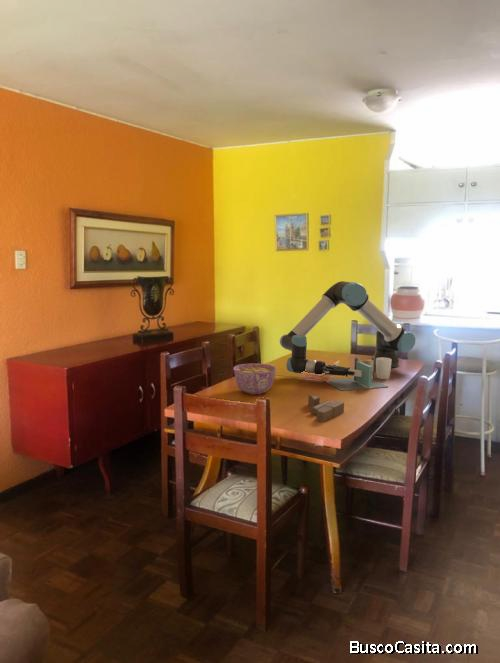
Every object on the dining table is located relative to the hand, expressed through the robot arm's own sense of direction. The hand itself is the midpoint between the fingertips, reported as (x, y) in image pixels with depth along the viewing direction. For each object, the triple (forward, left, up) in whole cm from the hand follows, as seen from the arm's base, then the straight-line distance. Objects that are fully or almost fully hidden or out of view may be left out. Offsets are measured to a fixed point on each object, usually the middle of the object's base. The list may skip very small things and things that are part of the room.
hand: (361, 373), depth 253 cm
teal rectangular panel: (-2, -1, -5) cm, 6 cm away
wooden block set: (+38, +33, -7) cm, 51 cm away
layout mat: (+1, -5, -6) cm, 8 cm away
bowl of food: (+53, -4, -6) cm, 54 cm away
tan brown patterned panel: (-7, -9, -6) cm, 13 cm away
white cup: (-20, -13, -7) cm, 24 cm away
